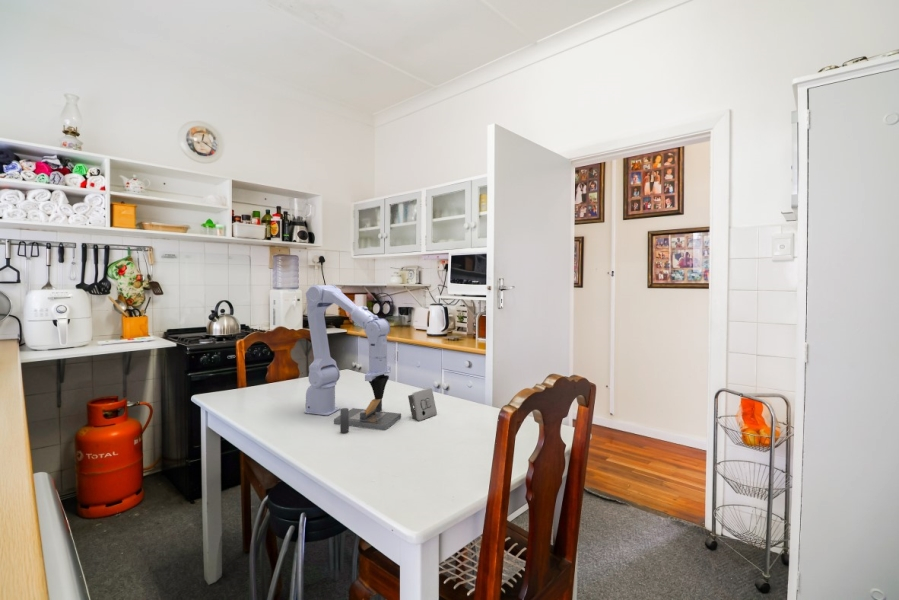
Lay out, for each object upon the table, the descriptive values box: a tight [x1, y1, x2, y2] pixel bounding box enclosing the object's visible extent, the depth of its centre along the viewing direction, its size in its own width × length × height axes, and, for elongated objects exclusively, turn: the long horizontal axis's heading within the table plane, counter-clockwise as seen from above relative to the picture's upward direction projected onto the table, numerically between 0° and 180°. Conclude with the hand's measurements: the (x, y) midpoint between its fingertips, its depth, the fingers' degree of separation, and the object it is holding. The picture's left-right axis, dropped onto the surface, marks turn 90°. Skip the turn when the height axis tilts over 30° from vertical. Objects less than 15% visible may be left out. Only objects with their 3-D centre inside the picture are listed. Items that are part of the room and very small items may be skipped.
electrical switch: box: [407, 387, 438, 422], centre depth 147 cm, size 9×5×9 cm, turn 141°
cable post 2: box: [376, 398, 383, 412], centre depth 153 cm, size 2×2×7 cm
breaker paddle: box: [364, 398, 381, 417], centre depth 141 cm, size 2×6×7 cm
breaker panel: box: [333, 407, 402, 431], centre depth 141 cm, size 18×12×4 cm, turn 73°
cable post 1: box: [339, 407, 350, 435], centre depth 131 cm, size 2×2×7 cm
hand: (378, 398), depth 140 cm, fingers closed, pressing on breaker paddle
